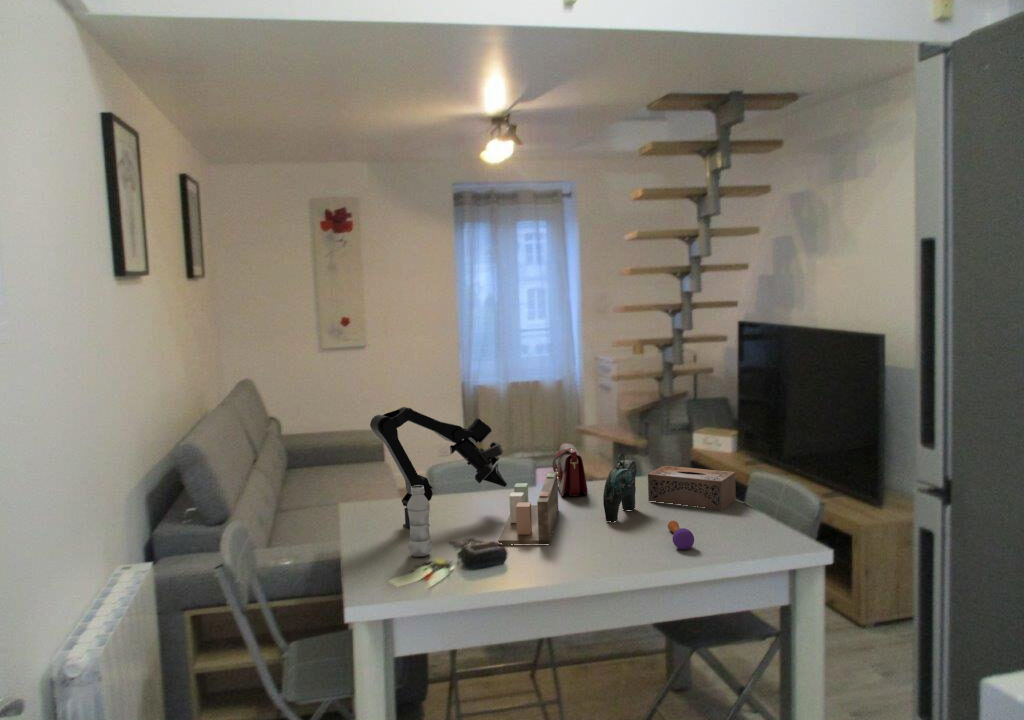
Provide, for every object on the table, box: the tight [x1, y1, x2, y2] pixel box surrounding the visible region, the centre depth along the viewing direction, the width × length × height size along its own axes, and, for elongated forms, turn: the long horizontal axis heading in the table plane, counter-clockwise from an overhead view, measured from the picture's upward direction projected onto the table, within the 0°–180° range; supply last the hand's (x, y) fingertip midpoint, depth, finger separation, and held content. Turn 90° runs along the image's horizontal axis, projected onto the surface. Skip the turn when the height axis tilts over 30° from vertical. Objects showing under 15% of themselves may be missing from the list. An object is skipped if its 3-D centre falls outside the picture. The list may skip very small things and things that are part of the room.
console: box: [497, 471, 559, 546], centre depth 252 cm, size 15×38×14 cm, turn 173°
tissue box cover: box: [647, 465, 737, 511], centre depth 274 cm, size 26×14×10 cm, turn 57°
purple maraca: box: [667, 520, 695, 551], centre depth 232 cm, size 6×6×20 cm
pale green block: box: [513, 482, 529, 502], centre depth 264 cm, size 4×5×8 cm
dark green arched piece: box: [602, 453, 637, 522], centre depth 259 cm, size 20×6×20 cm, turn 149°
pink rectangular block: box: [516, 502, 532, 535], centre depth 240 cm, size 4×5×8 cm
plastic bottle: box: [406, 485, 433, 558], centre depth 227 cm, size 6×7×20 cm
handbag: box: [552, 442, 588, 497], centre depth 296 cm, size 28×11×17 cm, turn 3°
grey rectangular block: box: [509, 491, 524, 523], centre depth 252 cm, size 4×5×8 cm
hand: (506, 485), depth 264 cm, fingers closed
